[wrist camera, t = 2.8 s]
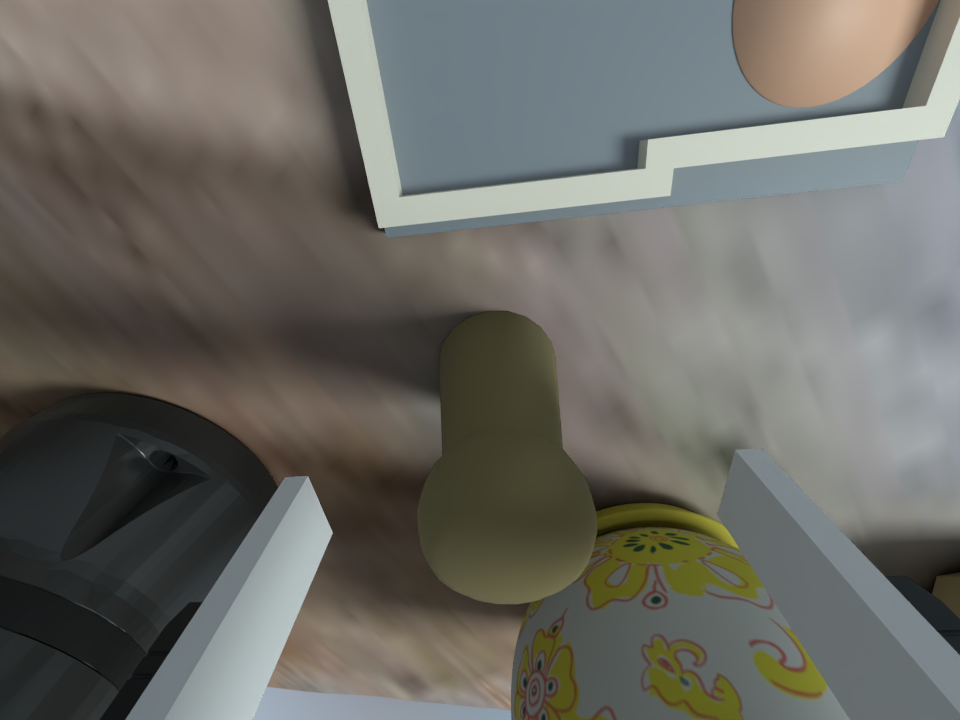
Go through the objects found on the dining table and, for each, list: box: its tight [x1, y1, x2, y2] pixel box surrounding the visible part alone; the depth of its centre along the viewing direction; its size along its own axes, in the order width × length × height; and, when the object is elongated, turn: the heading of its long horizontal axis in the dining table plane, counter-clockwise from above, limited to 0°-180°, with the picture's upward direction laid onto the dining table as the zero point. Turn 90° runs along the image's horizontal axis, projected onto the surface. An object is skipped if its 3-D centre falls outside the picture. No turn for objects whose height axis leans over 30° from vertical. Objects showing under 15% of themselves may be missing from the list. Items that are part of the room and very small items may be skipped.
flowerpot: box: [511, 503, 850, 720], centre depth 19 cm, size 18×18×16 cm
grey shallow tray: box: [328, 0, 960, 238], centre depth 12 cm, size 20×12×2 cm, turn 96°
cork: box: [417, 311, 597, 604], centre depth 14 cm, size 6×6×11 cm
